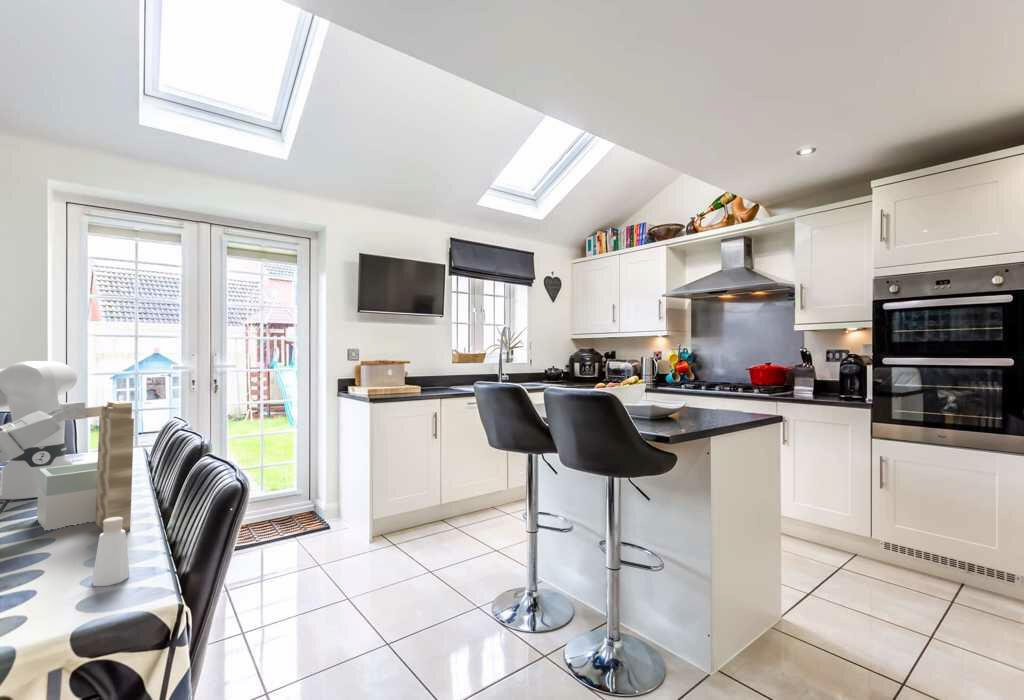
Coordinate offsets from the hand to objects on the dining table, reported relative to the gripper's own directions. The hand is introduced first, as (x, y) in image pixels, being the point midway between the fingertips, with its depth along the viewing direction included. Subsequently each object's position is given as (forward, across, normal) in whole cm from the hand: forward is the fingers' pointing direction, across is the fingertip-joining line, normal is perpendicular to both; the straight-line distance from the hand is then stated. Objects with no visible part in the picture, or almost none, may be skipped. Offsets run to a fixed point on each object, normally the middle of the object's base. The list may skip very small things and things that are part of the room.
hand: (73, 407), depth 116 cm
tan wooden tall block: (-9, +13, -27) cm, 31 cm away
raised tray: (-12, -1, -25) cm, 28 cm away
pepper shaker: (-15, +47, -24) cm, 55 cm away
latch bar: (+2, 0, -4) cm, 4 cm away
